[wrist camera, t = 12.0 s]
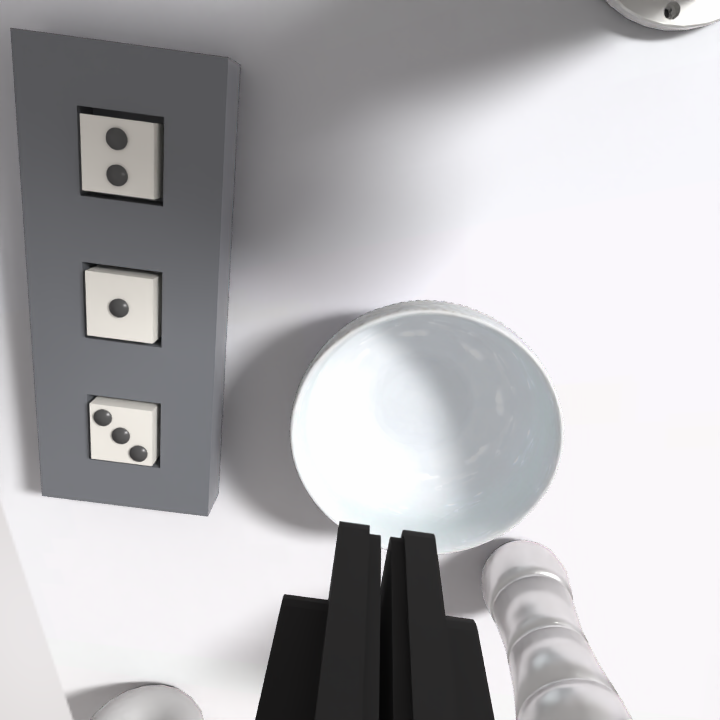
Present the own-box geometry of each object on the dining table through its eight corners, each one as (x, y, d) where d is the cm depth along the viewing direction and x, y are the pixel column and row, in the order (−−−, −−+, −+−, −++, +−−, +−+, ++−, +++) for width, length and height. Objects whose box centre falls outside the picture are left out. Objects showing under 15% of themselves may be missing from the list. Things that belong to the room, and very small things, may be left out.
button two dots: (98, 115, 35) (78, 113, 33) (168, 124, 35) (153, 122, 33) (100, 187, 37) (81, 190, 34) (167, 196, 37) (152, 199, 34)
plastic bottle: (469, 592, 48) (527, 880, 29) (486, 522, 45) (561, 785, 27) (547, 602, 48) (656, 895, 29) (568, 533, 46) (701, 803, 27)
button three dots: (105, 389, 41) (88, 404, 39) (164, 397, 41) (151, 412, 39) (106, 442, 43) (90, 459, 40) (163, 449, 43) (151, 467, 40)
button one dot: (102, 263, 38) (83, 271, 36) (166, 271, 38) (152, 279, 36) (103, 324, 40) (86, 335, 37) (165, 332, 40) (151, 344, 37)
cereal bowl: (256, 358, 42) (233, 397, 35) (465, 234, 38) (484, 252, 32) (379, 533, 46) (379, 597, 39) (575, 436, 43) (611, 489, 36)
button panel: (40, 37, 35) (10, 27, 32) (240, 64, 35) (228, 57, 32) (63, 474, 45) (42, 495, 42) (218, 493, 45) (207, 516, 42)
